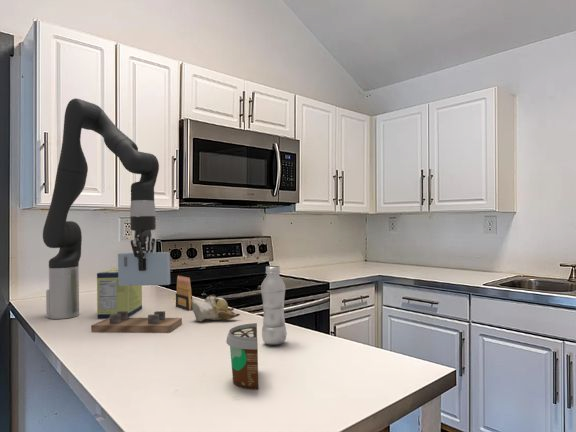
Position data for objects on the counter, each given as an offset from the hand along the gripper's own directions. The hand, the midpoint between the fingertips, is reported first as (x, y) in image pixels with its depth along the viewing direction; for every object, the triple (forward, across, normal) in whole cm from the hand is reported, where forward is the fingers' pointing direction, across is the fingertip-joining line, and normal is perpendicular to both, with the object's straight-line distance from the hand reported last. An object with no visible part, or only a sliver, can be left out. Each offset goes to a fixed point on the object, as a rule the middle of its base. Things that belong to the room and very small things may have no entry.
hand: (144, 270), depth 131 cm
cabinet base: (+17, +4, 0) cm, 18 cm away
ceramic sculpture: (+18, -7, +21) cm, 28 cm away
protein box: (+17, -16, -16) cm, 29 cm away
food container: (+18, +45, +40) cm, 63 cm away
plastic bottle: (+18, +20, +43) cm, 51 cm away
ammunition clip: (+17, -25, +4) cm, 31 cm away
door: (+5, 0, 0) cm, 5 cm away
